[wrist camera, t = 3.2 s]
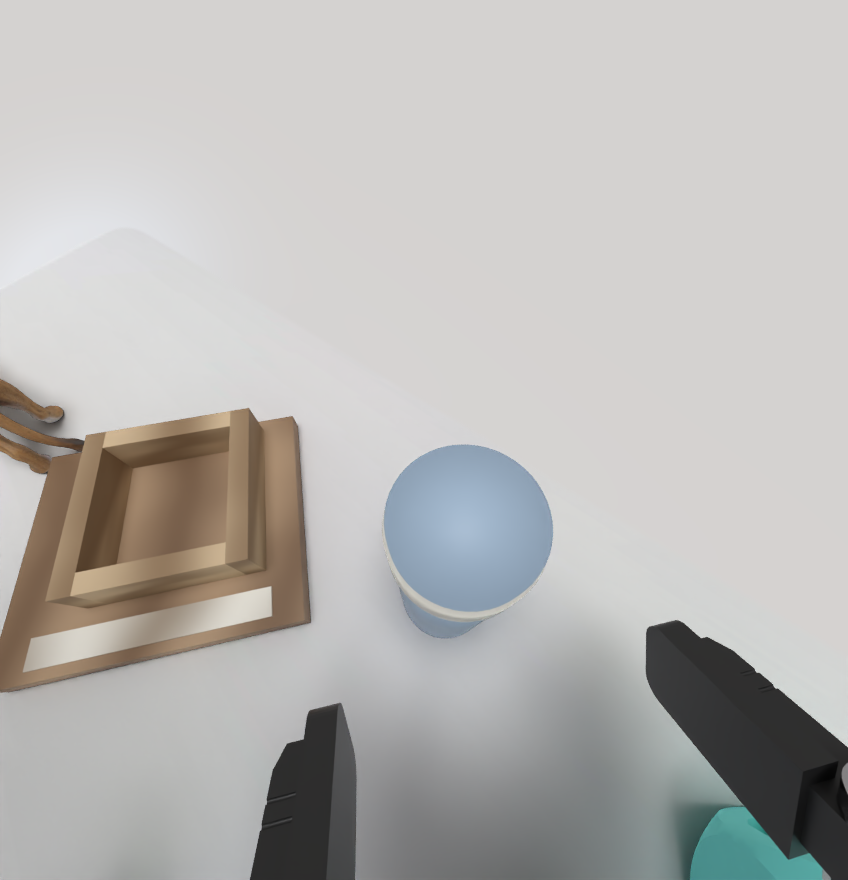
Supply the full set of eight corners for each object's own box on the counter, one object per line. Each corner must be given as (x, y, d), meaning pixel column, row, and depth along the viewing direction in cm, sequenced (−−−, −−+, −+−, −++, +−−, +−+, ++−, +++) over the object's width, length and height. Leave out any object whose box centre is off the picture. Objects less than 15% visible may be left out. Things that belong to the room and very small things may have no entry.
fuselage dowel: (410, 650, 19) (397, 634, 9) (393, 557, 21) (368, 457, 11) (499, 628, 20) (586, 588, 9) (474, 540, 22) (521, 428, 12)
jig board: (8, 692, 18) (-79, 698, 15) (67, 466, 24) (13, 436, 21) (310, 622, 20) (289, 614, 17) (297, 426, 26) (280, 392, 22)
